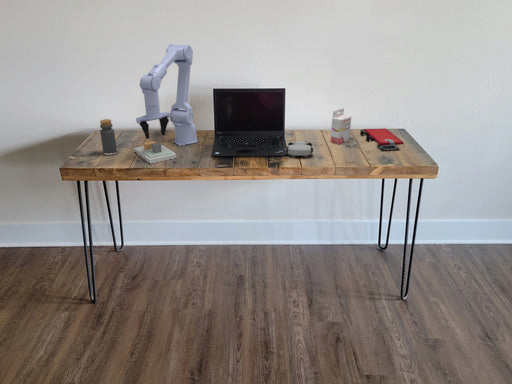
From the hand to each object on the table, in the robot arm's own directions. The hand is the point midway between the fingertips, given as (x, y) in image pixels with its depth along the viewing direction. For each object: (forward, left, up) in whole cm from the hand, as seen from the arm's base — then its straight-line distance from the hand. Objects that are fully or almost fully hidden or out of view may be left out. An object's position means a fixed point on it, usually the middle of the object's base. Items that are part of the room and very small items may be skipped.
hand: (155, 136), depth 206 cm
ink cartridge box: (-78, +31, -10) cm, 84 cm away
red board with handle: (-95, +41, -10) cm, 104 cm away
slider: (0, -7, -7) cm, 10 cm away
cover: (0, 0, -7) cm, 7 cm away
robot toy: (-53, +32, -10) cm, 63 cm away
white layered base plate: (0, -3, -9) cm, 10 cm away
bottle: (+15, -17, -10) cm, 25 cm away
